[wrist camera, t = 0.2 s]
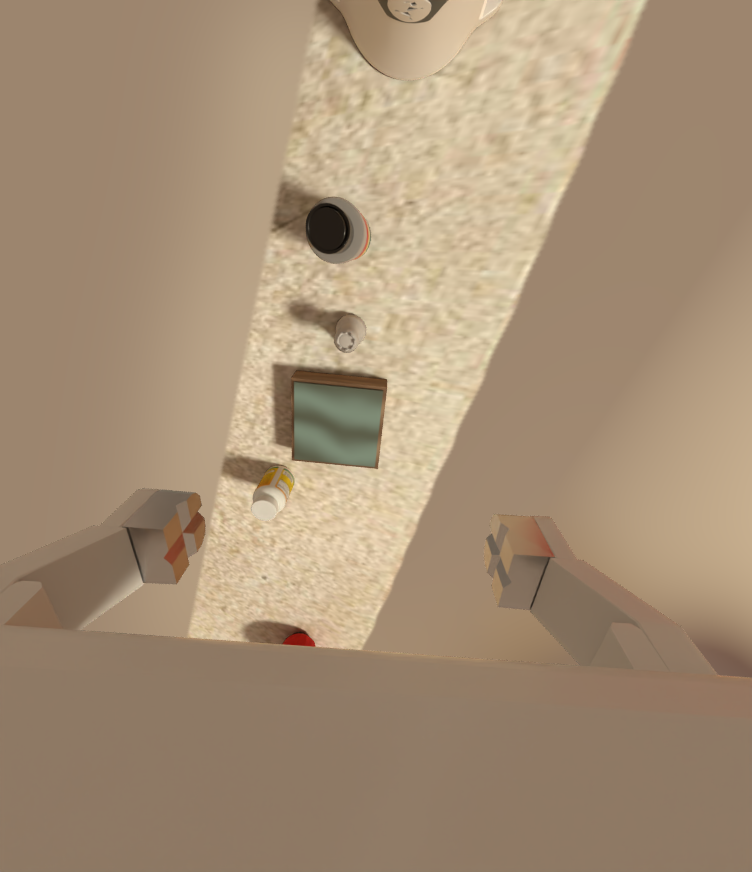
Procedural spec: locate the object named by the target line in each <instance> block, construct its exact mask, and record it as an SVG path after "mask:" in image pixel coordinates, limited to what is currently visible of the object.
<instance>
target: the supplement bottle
mask: <svg viewBox="0 0 752 872" xmlns="http://www.w3.org/2000/svg"><path fill="white" fill-rule="evenodd" d="M294 482H295V478H294V475H293V473H292V471H291V470H289V469H288V468H286V467H284V466H279V465H277V466H273V467H271V468H269V469H268V470H267V471H266V473H265V474H264V476H263V478H262V480H261V481H260V483H259V485H258V487H257V488H256V490H255V492H254V494H253V504H252V506H251V511H252V514H253V515H254V516H255V517H256V518H257V519H259V520H262V521H269V520H272V519H273V518H274V517H275V516H276V514H277V513H278V512H280V511H281V510H282V509H283V508H284V506H285V504H286V502H287V499H288V497H289V495H290V492H291V490H292V488H293V485H294Z"/></svg>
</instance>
